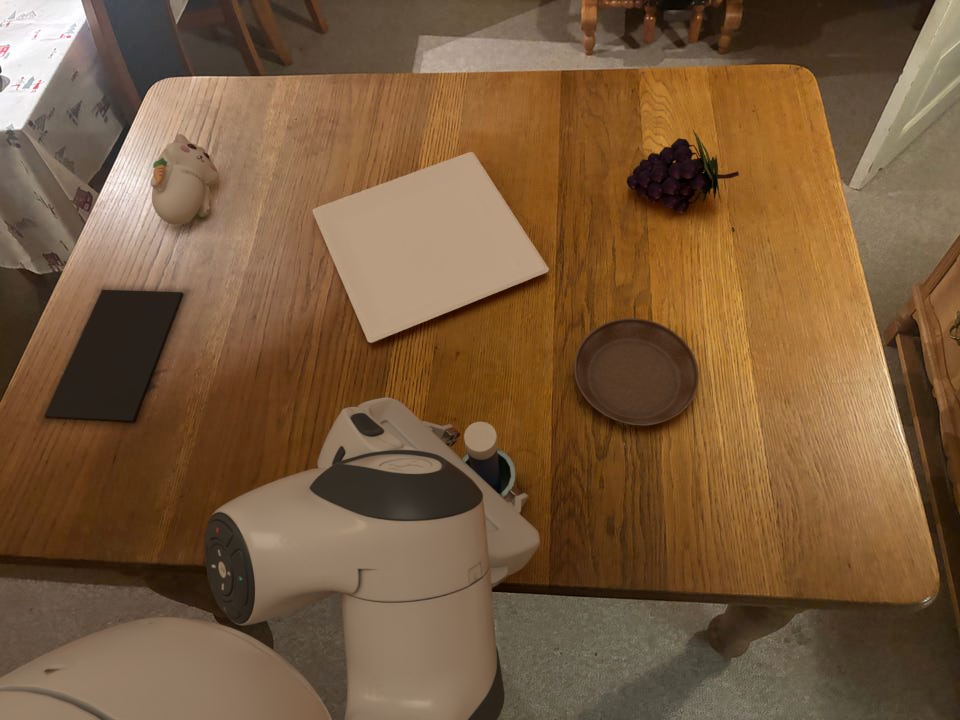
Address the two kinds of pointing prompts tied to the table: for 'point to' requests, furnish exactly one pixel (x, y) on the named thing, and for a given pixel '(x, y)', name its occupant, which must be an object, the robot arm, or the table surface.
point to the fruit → (677, 175)
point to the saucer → (636, 371)
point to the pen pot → (503, 471)
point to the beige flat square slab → (425, 245)
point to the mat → (115, 356)
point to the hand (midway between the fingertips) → (485, 464)
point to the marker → (483, 453)
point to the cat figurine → (182, 182)
